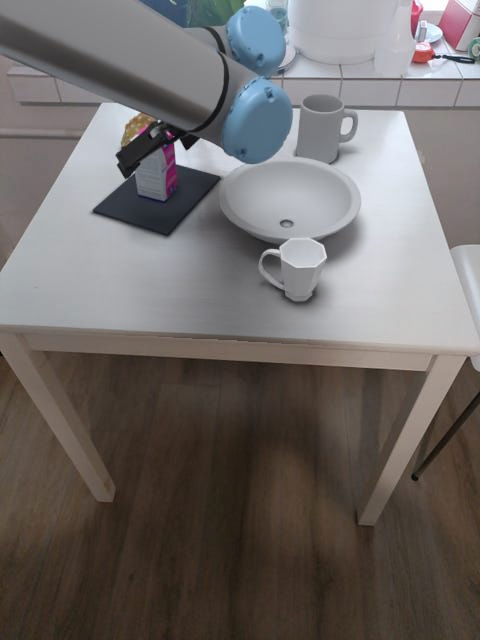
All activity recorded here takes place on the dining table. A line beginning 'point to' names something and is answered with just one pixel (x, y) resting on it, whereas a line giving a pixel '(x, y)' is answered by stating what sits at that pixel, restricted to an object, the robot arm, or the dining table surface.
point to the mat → (157, 214)
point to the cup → (298, 266)
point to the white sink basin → (289, 199)
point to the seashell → (136, 127)
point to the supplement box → (157, 173)
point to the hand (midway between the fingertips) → (154, 157)
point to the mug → (323, 127)
